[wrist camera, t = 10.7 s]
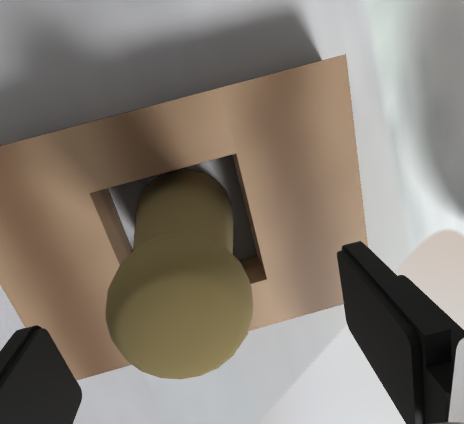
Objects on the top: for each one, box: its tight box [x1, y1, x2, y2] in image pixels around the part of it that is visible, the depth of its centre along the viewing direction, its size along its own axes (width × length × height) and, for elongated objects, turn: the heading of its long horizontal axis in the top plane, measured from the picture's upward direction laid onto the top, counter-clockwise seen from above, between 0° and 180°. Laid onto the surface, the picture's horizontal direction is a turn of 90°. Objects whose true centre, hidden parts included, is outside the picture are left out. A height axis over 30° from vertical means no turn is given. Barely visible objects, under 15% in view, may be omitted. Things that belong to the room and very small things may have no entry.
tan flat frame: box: [0, 54, 368, 380], centre depth 19 cm, size 20×14×3 cm
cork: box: [105, 169, 253, 379], centre depth 16 cm, size 6×6×11 cm
